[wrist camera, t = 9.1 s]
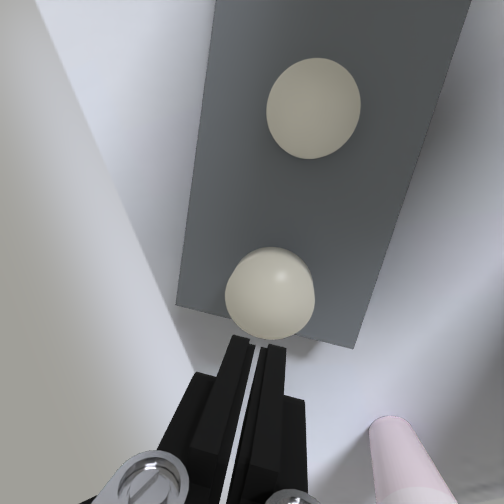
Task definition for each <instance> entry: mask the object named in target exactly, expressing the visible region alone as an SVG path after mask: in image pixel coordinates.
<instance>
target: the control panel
mask: <svg viewBox="0 0 504 504" xmlns="http://www.w3.org/2000/svg"><path fill="white" fill-rule="evenodd" d="M470 3H471V0H216V4H215V12H214V19H213V27H212V34H211V42H210V49H209V57H208V64H207V72H206V79H205V87H204V94H203V102H202V110H201V117H200V125H199V132H198V140H197V147H196V155H195V162H194V170H193V177H192V185H191V193H190V200H189V208H188V215H187V223H186V230H185V238H184V245H183V253H182V260H181V268H180V275H179V283H178V291H177V298H176V305H177V306H181V307H185V308H189V309H193V310H197V311H201V312H205V313H209V314H213V315H217V316H221V317H225V318H229V319H232V318H231V316H230V314H229V312H228V310H227V307H226V302H225V290H226V286H227V283H228V280H229V278H230V277H231V275H232V273H233V272H234V270H235V268H236V267H237V265H238V263H239V262H240V261H241V259H242V258H244V257H245V256H246V255H247V254H249V253H250V252H252V251H254V250H257V249H259V248H264V247H278V248H283V249H286V250H288V251H291V252H293V253H294V254H296V255H297V256H298V257H300V258H301V259H302V260H303V261H304V263H305V264H306V265H307V267H308V269H309V270H310V273H311V275H312V280H313V287H314V295H315V305H314V310H313V313H312V316H311V318H310V320H309V321H308V323H307V324H306V325H305V326H304V327H303V328H302V329H301V330H300V331H298V332H297V333H295V334H294V335H298V336H302V337H306V338H310V339H314V340H318V341H322V342H326V343H330V344H334V345H338V346H342V347H346V348H350V349H354V346H355V343H356V340H357V337H358V334H359V331H360V328H361V325H362V322H363V319H364V316H365V313H366V310H367V307H368V304H369V301H370V299H371V296H372V293H373V290H374V287H375V284H376V281H377V278H378V275H379V272H380V269H381V266H382V263H383V260H384V257H385V254H386V251H387V248H388V245H389V242H390V239H391V237H392V234H393V231H394V228H395V225H396V222H397V219H398V216H399V213H400V210H401V207H402V204H403V201H404V198H405V195H406V192H407V189H408V186H409V183H410V180H411V178H412V175H413V172H414V169H415V166H416V163H417V160H418V157H419V154H420V151H421V148H422V145H423V142H424V139H425V136H426V133H427V130H428V127H429V124H430V121H431V118H432V116H433V113H434V110H435V107H436V104H437V101H438V98H439V95H440V92H441V89H442V86H443V83H444V80H445V77H446V74H447V71H448V68H449V65H450V62H451V59H452V56H453V54H454V51H455V48H456V45H457V42H458V39H459V36H460V33H461V30H462V27H463V24H464V21H465V18H466V15H467V12H468V9H469V6H470ZM310 58H325V59H329V60H332V61H334V62H336V63H338V64H340V65H341V66H343V67H344V68H345V69H346V70H347V71H348V72H349V73H350V74H351V75H352V77H353V79H354V80H355V82H356V84H357V87H358V90H359V94H360V101H361V108H360V115H359V120H358V123H357V126H356V128H355V130H354V132H353V133H352V135H351V136H350V138H349V139H348V140H347V142H346V143H345V144H344V145H343V146H341V147H340V148H339V149H338V150H336V151H335V152H333V153H331V154H329V155H326V156H324V157H320V158H316V159H302V158H298V157H295V156H293V155H291V154H289V153H287V152H286V151H285V150H283V149H282V148H281V147H280V146H279V145H278V144H277V142H276V141H275V140H274V138H273V136H272V134H271V132H270V130H269V127H268V123H267V116H266V108H267V101H268V97H269V94H270V91H271V89H272V87H273V85H274V83H275V82H276V80H277V79H278V77H279V76H280V75H281V74H282V73H283V72H284V71H285V70H286V69H287V68H289V67H290V66H292V65H293V64H295V63H297V62H299V61H302V60H305V59H310Z"/></svg>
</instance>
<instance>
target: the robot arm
mask: <svg viewBox="0 0 504 504" xmlns="http://www.w3.org/2000/svg"><path fill="white" fill-rule="evenodd" d="M249 341H250V339H248V338H244V337H240V336H236V335H232V338H231V340H230V343H229V345H228V348H227V351H226V353H225V356H224V359H223V361H222V364H221V366H220V369H219V372H218V374H217V377H214V376H211V375H207V374H203V373H199V372H196V373H195V374H194V376H193V377H192V379H191V381H190V383H189V385H188V388H187V389H186V391H185V394H184V395H183V398H182V400H181V402H180V404H179V406H178V408H177V410H176V412H175V414H174V416H173V418H172V420H171V422H170V424H169V426H168V428H167V430H166V432H165V434H164V436H163V438H162V440H161V442H160V444H159V446H158V448H157V450H153V451H146V452H142V453H139V454H137V455H135V456H133V457H132V458H130V459H128V460H127V461H126V462H125V463H124V464H123V465H122V466H121V467H120V468H119V469H118V470H117V471H116V473H115V474H114V475H113V476H112V478H111V479H110V480H109V481H108V483H107V484H106V485H105V486H104V488H103V489H102V490H101V492H100V493H99V494H98V495H97V496H94V497H92V498H91V499H88V500H86V501H84V502H82V503H80V504H219V501H220V497H221V493H222V488H223V484H224V480H225V476H226V471H227V466H228V462H229V458H230V454H231V450H232V445H233V441H234V437H235V432H236V428H237V424H238V419H239V415H240V411H241V406H242V402H243V398H244V393H245V389H246V385H247V380H248V376H249V371H250V367H251V363H252V358H253V354H254V350H255V345H252V344H249ZM285 365H286V348H284V347H280V346H276V345H272V344H269V345H268V348H264V347H261V349H260V353H259V357H258V361H257V366H256V370H255V374H254V378H253V383H252V387H251V391H250V395H249V400H248V404H247V408H246V412H245V417H244V421H243V426H242V430H241V435H240V440H239V445H238V449H237V454H236V459H235V464H234V469H233V473H232V478H231V483H230V487H229V492H228V497H227V502H226V504H320V503H319V502H318V501H317V500H316V499H315V498H314V497H312V496H310V495H309V494H308V478H307V448H306V418H305V402H304V400H301V399H297V398H294V397H290V396H286V395H284V382H285Z"/></svg>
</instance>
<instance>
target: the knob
mask: <svg viewBox="0 0 504 504" xmlns="http://www.w3.org/2000/svg"><path fill="white" fill-rule="evenodd" d="M225 302H226V307H227V310H228V312H229V314H230V316H231V318H232V319H233V321H234V322H235V323H236V324H237V325H238V326H239V327H240V328H241V329H242V330H243V331H245V332H247V333H248V334H250V335H252V336H255V337H258V338H261V339H268V340H277V339H283V338H286V337H289V336H292V335H294V334H295V333H297V332H298V331H300V330H301V329H302V328H303V327H304V326H305V325H306V324H307V323H308V321H309V320H310V318H311V316H312V313H313V310H314V305H315V295H314V287H313V280H312V275H311V273H310V270H309V269H308V267H307V265H306V264H305V263H304V261H303V260H302V259H301V258H300V257H298V256H297V255H296V254H294V253H293V252H291V251H288V250H286V249H283V248H278V247H264V248H259V249H257V250H254V251H252V252H250V253H249V254H247V255H246V256H245V257H244V258H242V259H241V261H240V262H239V263H238V265H237V267H236V268H235V270H234V272H233V273H232V275H231V277H230V278H229V280H228V283H227V286H226V290H225Z"/></svg>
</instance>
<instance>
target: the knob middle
mask: <svg viewBox="0 0 504 504" xmlns="http://www.w3.org/2000/svg"><path fill="white" fill-rule="evenodd" d="M360 108H361V101H360V94H359V90H358V87H357V84H356V82H355V80H354V79H353V77H352V75H351V74H350V73H349V72H348V71H347V70H346V69H345V68H344V67H343V66H341V65H340V64H338V63H336V62H334V61H332V60H329V59H325V58H310V59H305V60H302V61H299V62H297V63H295V64H293V65H292V66H290V67H289V68H287V69H286V70H285V71H284V72H283V73H282V74H281V75H280V76H279V77H278V79H277V80H276V82H275V83H274V85H273V87H272V89H271V91H270V94H269V97H268V101H267V108H266V116H267V123H268V127H269V130H270V132H271V134H272V136H273V138H274V140H275V141H276V142H277V144H278V145H279V146H280V147H281V148H282V149H283V150H285V151H286V152H287V153H289V154H291V155H293V156H295V157H298V158H302V159H316V158H320V157H324V156H326V155H329V154H331V153H333V152H335V151H336V150H338V149H339V148H340V147H341V146H343V145H344V144H345V143H346V142H347V140H348V139H349V138H350V136H351V135H352V133H353V132H354V130H355V128H356V126H357V123H358V120H359V115H360Z"/></svg>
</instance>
